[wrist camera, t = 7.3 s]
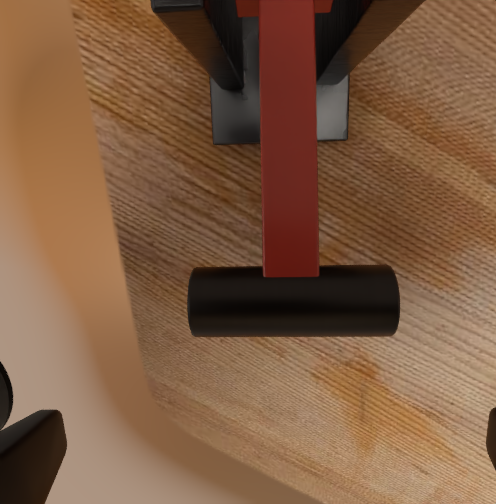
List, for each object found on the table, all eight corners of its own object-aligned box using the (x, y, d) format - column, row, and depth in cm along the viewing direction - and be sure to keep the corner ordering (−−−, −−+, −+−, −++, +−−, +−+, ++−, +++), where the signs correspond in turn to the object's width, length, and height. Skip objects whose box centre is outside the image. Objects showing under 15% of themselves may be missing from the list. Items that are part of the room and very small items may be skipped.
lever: (376, 326, 9) (410, 349, 7) (204, 326, 10) (181, 350, 7) (368, -108, 10) (399, -231, 7) (198, -96, 10) (173, -210, 7)
